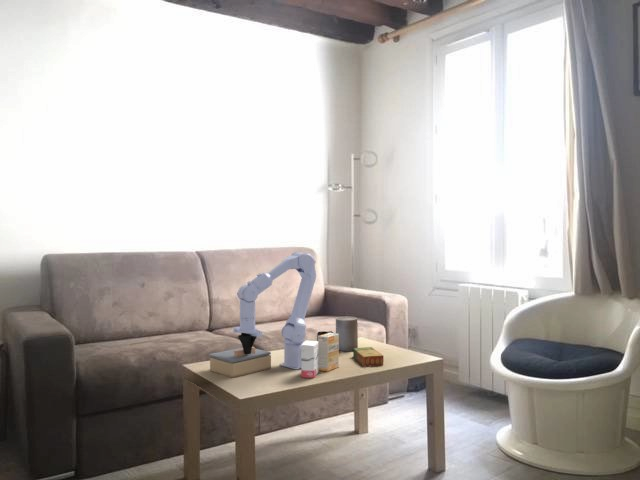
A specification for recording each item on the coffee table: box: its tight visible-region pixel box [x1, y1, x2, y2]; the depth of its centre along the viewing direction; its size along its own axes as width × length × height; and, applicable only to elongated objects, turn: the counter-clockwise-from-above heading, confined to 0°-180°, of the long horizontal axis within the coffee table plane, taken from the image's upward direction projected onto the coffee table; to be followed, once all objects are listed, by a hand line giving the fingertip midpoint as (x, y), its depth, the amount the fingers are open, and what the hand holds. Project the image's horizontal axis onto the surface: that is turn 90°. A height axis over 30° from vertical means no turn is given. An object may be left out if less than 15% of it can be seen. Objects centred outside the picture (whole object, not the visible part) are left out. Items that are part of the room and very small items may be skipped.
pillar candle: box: [335, 315, 359, 352], centre depth 246 cm, size 10×10×15 cm
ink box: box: [300, 339, 319, 379], centre depth 204 cm, size 9×5×12 cm, turn 168°
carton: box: [352, 346, 384, 367], centre depth 225 cm, size 8×16×4 cm, turn 12°
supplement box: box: [318, 332, 340, 372], centre depth 212 cm, size 8×5×13 cm, turn 148°
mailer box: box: [209, 354, 272, 379], centre depth 211 cm, size 14×18×5 cm
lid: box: [208, 346, 272, 363], centre depth 211 cm, size 14×18×3 cm
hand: (247, 353), depth 208 cm, fingers closed
